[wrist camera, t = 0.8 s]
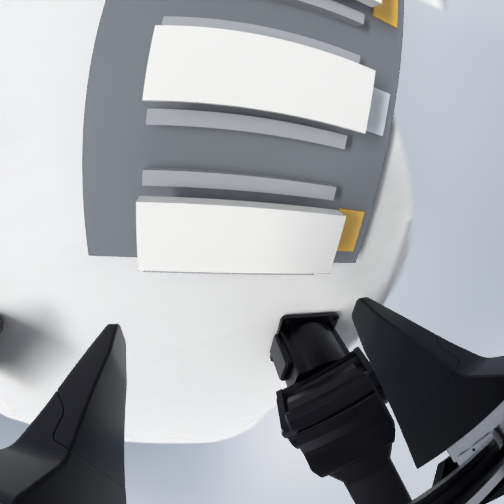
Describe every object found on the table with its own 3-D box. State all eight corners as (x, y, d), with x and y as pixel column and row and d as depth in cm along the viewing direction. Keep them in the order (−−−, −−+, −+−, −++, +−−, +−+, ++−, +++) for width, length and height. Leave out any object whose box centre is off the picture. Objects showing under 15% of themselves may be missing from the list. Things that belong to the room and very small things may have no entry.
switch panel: (393, -9, 13) (410, -14, 11) (345, 260, 25) (358, 274, 23) (138, -64, 8) (134, -79, 5) (95, 253, 20) (86, 269, 18)
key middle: (365, 71, 14) (375, 70, 13) (355, 131, 16) (365, 133, 15) (157, 31, 11) (155, 25, 10) (145, 101, 13) (142, 100, 12)
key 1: (337, 210, 19) (346, 216, 17) (322, 265, 20) (329, 273, 19) (139, 195, 15) (135, 201, 14) (140, 260, 17) (138, 270, 16)
